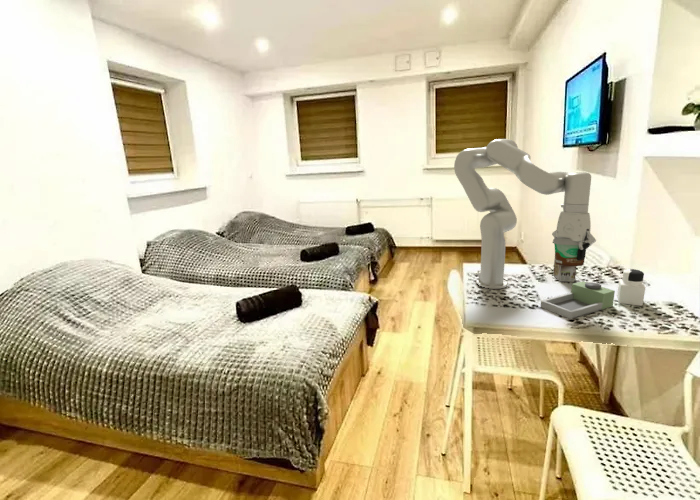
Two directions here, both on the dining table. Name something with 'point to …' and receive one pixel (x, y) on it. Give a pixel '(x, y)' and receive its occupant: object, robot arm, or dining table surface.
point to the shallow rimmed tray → (580, 300)
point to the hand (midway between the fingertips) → (571, 257)
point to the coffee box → (564, 272)
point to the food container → (567, 252)
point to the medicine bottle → (631, 287)
